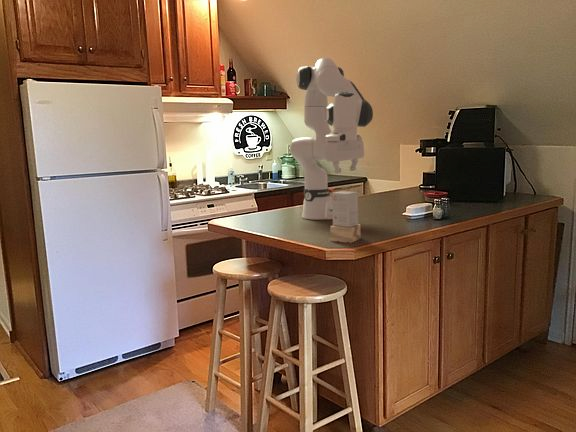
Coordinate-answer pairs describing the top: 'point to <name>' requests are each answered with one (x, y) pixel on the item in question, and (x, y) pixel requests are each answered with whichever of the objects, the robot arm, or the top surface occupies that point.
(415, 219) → the top surface
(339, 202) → the small box
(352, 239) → the maple block
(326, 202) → the robot arm
